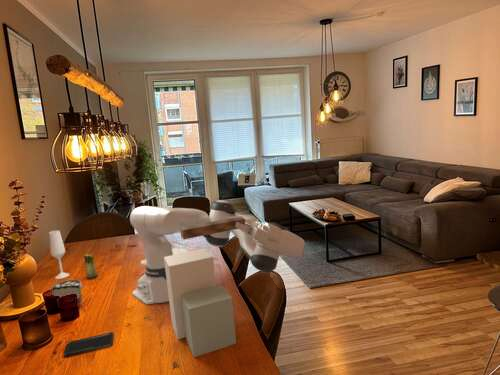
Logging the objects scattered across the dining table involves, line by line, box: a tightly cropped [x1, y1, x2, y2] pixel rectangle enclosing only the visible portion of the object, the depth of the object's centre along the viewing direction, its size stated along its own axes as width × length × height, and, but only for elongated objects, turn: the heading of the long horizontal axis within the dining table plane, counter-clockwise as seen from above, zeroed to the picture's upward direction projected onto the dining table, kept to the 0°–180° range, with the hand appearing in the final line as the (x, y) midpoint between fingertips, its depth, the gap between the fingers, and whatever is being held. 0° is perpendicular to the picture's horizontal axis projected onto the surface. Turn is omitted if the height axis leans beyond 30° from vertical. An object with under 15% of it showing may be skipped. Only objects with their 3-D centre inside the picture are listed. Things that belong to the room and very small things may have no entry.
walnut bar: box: [180, 217, 245, 240], centre depth 114 cm, size 21×4×3 cm, turn 114°
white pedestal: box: [164, 248, 217, 340], centre depth 122 cm, size 15×10×26 cm, turn 113°
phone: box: [62, 332, 115, 358], centre depth 118 cm, size 8×1×15 cm
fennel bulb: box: [83, 254, 98, 279], centre depth 176 cm, size 6×5×12 cm
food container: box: [50, 279, 83, 308], centre depth 148 cm, size 12×6×10 cm, turn 92°
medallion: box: [140, 247, 190, 265], centre depth 195 cm, size 24×27×2 cm
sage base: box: [181, 285, 237, 358], centre depth 113 cm, size 14×10×16 cm
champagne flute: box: [48, 230, 70, 280], centre depth 179 cm, size 7×7×24 cm
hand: (232, 222), depth 116 cm, fingers closed on walnut bar, 3 cm apart
